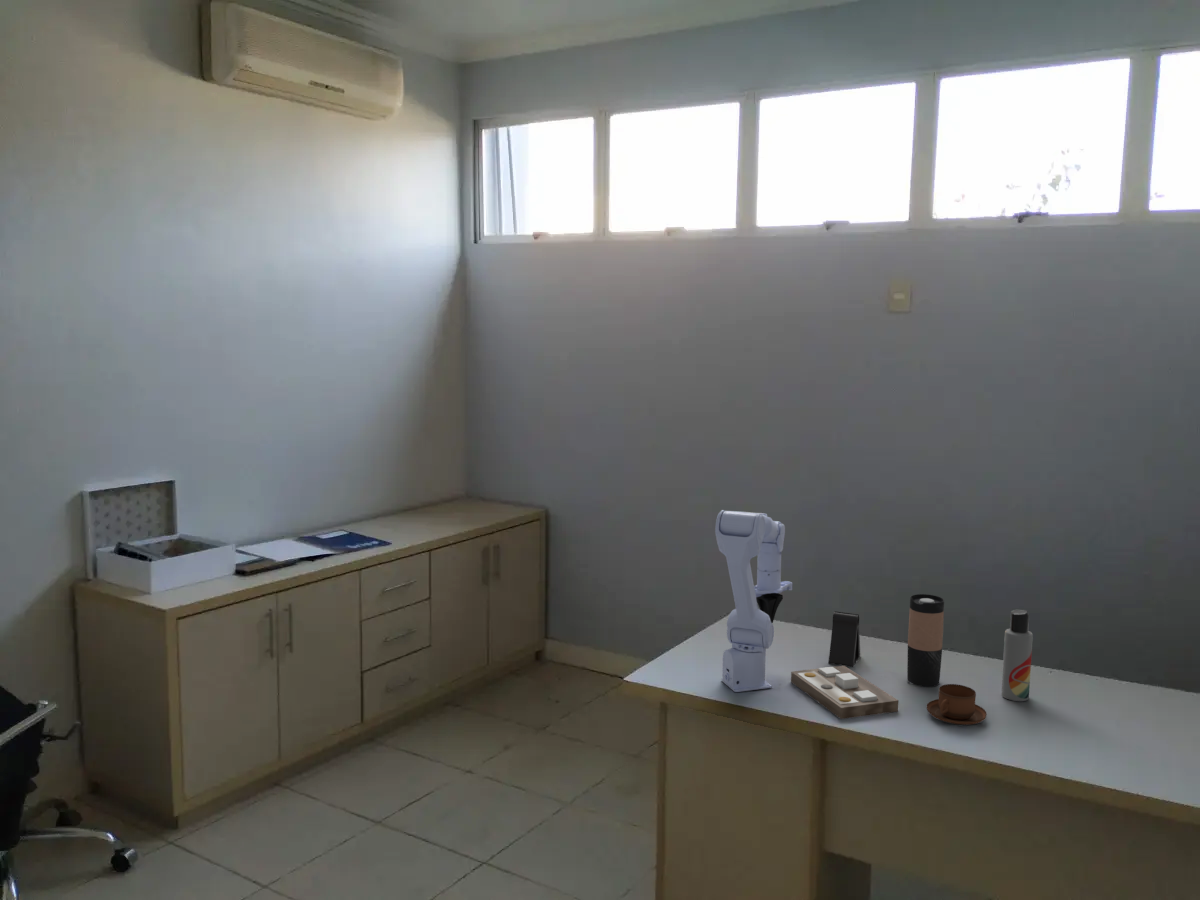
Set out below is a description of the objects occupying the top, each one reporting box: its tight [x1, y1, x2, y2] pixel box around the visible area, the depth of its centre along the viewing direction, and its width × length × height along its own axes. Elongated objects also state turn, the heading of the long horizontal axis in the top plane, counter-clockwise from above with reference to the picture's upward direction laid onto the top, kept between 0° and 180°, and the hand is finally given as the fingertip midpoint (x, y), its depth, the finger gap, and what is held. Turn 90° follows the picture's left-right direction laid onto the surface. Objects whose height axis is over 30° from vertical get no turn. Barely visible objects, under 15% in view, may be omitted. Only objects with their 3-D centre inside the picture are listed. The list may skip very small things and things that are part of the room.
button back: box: [818, 666, 840, 677], centre depth 218 cm, size 4×4×3 cm
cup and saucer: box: [926, 683, 988, 726], centre depth 199 cm, size 12×12×6 cm
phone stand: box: [828, 610, 861, 668], centre depth 234 cm, size 9×6×12 cm, turn 153°
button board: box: [790, 665, 899, 720], centre depth 211 cm, size 14×22×3 cm, turn 17°
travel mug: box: [906, 593, 945, 688], centre depth 219 cm, size 8×8×20 cm
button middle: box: [835, 673, 858, 689], centre depth 211 cm, size 4×4×3 cm
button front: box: [853, 690, 877, 702], centre depth 204 cm, size 4×4×3 cm
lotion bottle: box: [1001, 609, 1034, 702], centre depth 210 cm, size 6×6×20 cm
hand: (767, 622), depth 230 cm, fingers closed
